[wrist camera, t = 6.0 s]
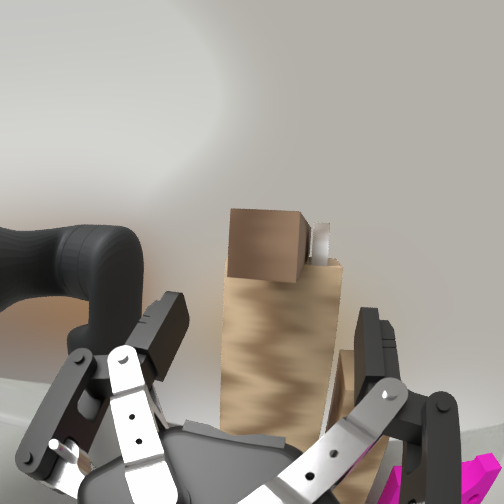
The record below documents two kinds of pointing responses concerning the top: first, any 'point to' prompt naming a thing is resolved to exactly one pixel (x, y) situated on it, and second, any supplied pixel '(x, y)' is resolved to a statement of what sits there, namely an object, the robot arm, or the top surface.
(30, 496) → the top surface
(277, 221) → the walnut bar
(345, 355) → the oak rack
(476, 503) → the toy block
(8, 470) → the top surface
